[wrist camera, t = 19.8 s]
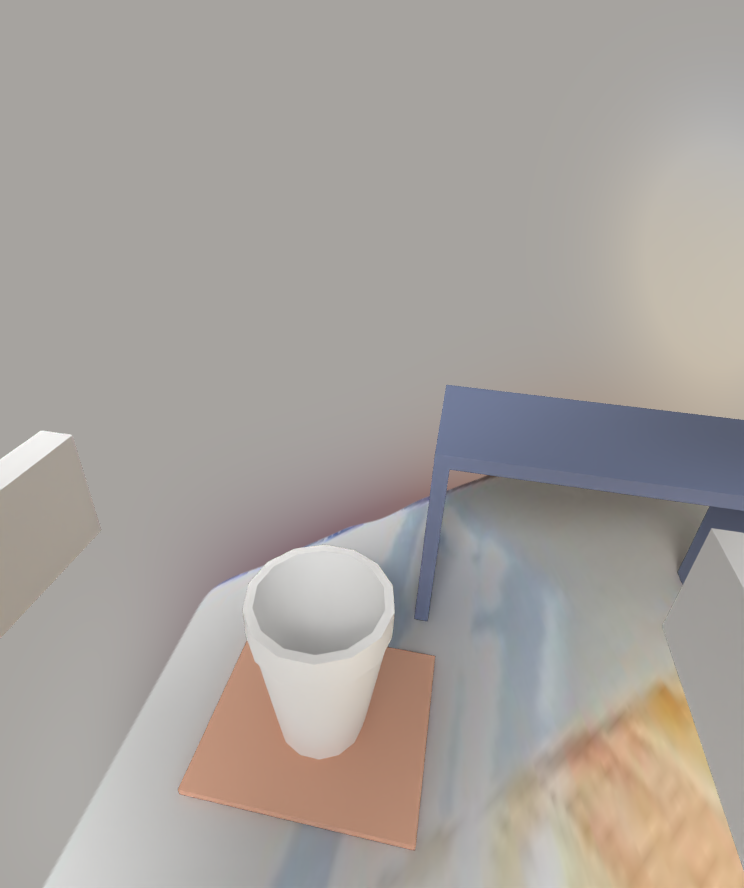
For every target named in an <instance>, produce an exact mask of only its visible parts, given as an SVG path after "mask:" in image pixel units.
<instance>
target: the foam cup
mask: <svg viewBox="0 0 744 888" xmlns="http://www.w3.org/2000/svg"><path fill="white" fill-rule="evenodd" d="M242 613H243V620H244V628H245V635H246V638H247V641H248V644H249V646H250V649H251V652H252V655H253V658H254V661H255V662H256V663H257V664H258V665H259V666H260V669H261V672H262V675H263V678H264V681H265V684H266V687H267V690H268V693H269V696H270V699H271V702H272V705H273V707H274V710H275V713H276V716H277V719H278V722H279V725H280V728H281V731H282V733H283V736H284V739H285V741H286V743H287V744H288V745H289V746H291V747H292V748H293V749H294V750H295V751H296V752H297V753H298V754H299V755H302V756H306V757H311V758H315V759H324V758H328V757H333V756H337V755H340V754H341V753H342V752H343V751H345V750H346V749H347V748H348V747H350V746H351V745H352V744H353V743H355V741H356V739H357V737H358V735H359V732H360V730H361V728H362V726H363V723H364V721H365V717H366V714H367V711H368V707H369V704H370V700H371V697H372V694H373V690H374V687H375V683H376V680H377V677H378V673H379V670H380V666H381V663H382V660H383V656H384V653H385V650H386V648H387V646H388V644H389V643H390V641H391V639H392V635H393V625H394V614H395V609H394V594H393V585H392V584H391V582H390V581H389V579H388V578H387V576H386V575H385V573H384V572H383V571H382V569H381V568H380V566H379V565H378V564H377V563H375V562H374V561H372V560H370V559H368V558H367V557H365V556H363V555H362V554H360V553H358V552H357V551H355V550H351V549H346V548H340V547H335V546H329V545H318V546H311V547H304V548H296V549H293V550H291V551H289V552H287V553H285V554H283V555H281V556H279V557H277V558H275V559H273V560H271V561H269V562H267V563H266V564H265V565H264V567H263V568H262V569H261V570H260V571H259V572H258V573H257V574H256V575H255V577H254V578H253V579H252V580H251V581H250V582H249V583H248V587H247V592H246V596H245V600H244V604H243V608H242Z"/></svg>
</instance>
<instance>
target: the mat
mask: <svg viewBox="0 0 744 888" xmlns="http://www.w3.org/2000/svg"><path fill="white" fill-rule="evenodd" d="M434 663H435V656H432V655H427V654H422V653H416V652H411V651H406V650H400V649H395V648H390V647H387V648H386V650H385V653H384V656H383V660H382V663H381V666H380V670H379V673H378V677H377V680H376V683H375V687H374V690H373V694H372V697H371V700H370V704H369V707H368V711H367V714H366V717H365V721H364V723H363V726H362V728H361V730H360V732H359V735H358V737H357V739H356V741H355V743H353V744H352V745H351V746H350V747H348V748H347V749H346V750H345V751H343V752H342V753H341V754H340V755H337V756H333V757H328V758H324V759H315V758H311V757H306V756H302V755H299V754H298V753H297V752H296V751H295V750H294V749H293V748H292V747H291V746H289V745H288V744H287V743H286V741H285V739H284V736H283V733H282V731H281V728H280V725H279V722H278V719H277V716H276V713H275V710H274V707H273V705H272V702H271V699H270V696H269V693H268V690H267V687H266V684H265V681H264V678H263V675H262V672H261V669H260V666H259V665H258V664H257V663H256V662H255V661H254V658H253V655H252V652H251V649H250V646H249V644H248V641H246V644H245V646H244V648H243V650H242V652H241V654H240V657H239V659H238V661H237V663H236V665H235V667H234V669H233V672H232V674H231V676H230V678H229V680H228V682H227V685H226V687H225V689H224V691H223V693H222V695H221V698H220V700H219V702H218V704H217V706H216V708H215V710H214V713H213V715H212V717H211V719H210V721H209V723H208V726H207V728H206V730H205V732H204V734H203V736H202V739H201V741H200V743H199V745H198V747H197V749H196V751H195V754H194V756H193V758H192V760H191V762H190V764H189V767H188V769H187V771H186V773H185V775H184V777H183V780H182V782H181V784H180V786H179V788H178V792H179V794H182V795H186V796H190V797H194V798H198V799H202V800H207V801H211V802H215V803H219V804H223V805H227V806H232V807H236V808H240V809H244V810H248V811H252V812H256V813H261V814H265V815H269V816H273V817H277V818H281V819H286V820H290V821H294V822H298V823H302V824H306V825H311V826H315V827H319V828H323V829H327V830H331V831H335V832H340V833H344V834H348V835H352V836H356V837H360V838H365V839H369V840H373V841H377V842H381V843H385V844H390V845H394V846H398V847H402V848H406V849H410V850H414V851H415V847H416V838H417V828H418V818H419V809H420V799H421V789H422V779H423V770H424V760H425V750H426V740H427V731H428V721H429V711H430V702H431V692H432V682H433V672H434Z"/></svg>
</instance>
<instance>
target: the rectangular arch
mask: <svg viewBox="0 0 744 888" xmlns="http://www.w3.org/2000/svg"><path fill="white" fill-rule="evenodd" d="M449 470H456V471H464V472H471V473H478V474H485V475H492V476H499V477H506V478H513V479H521V480H528V481H535V482H542V483H549V484H556V485H563V486H570V487H578V488H585V489H592V490H599V491H606V492H613V493H620V494H627V495H635V496H642V497H649V498H656V499H663V500H670V501H677V502H684V503H692V504H699V505H706V506H710V507H709V509H708V511H707V513H706V515H705V517H704V519H703V521H702V523H701V525H700V527H699V529H698V531H697V534H696V536H695V538H694V540H693V542H692V544H691V546H690V548H689V550H688V552H687V554H686V556H685V558H684V560H683V562H682V564H681V566H680V568H679V570H678V575H679V577H680V580H681V582H682V584H684V582H685V580H686V578H687V576H688V574H689V572H690V570H691V568H692V566H693V564H694V562H695V560H696V558H697V556H698V554H699V552H700V550H701V548H702V546H703V544H704V542H705V540H706V538H707V536H708V534H709V532H710V530H711V528H714V529H721V530H728V531H734V532H741V533H744V420H739V419H730V418H722V417H713V416H705V415H697V414H688V413H680V412H671V411H663V410H655V409H646V408H637V407H629V406H621V405H612V404H603V403H596V402H587V401H579V400H570V399H562V398H553V397H545V396H537V395H528V394H520V393H511V392H502V391H494V390H486V389H477V388H469V387H461V386H452V385H446V391H445V397H444V403H443V409H442V415H441V421H440V427H439V433H438V439H437V445H436V451H435V459H434V467H433V475H432V483H431V491H430V499H429V507H428V515H427V523H426V531H425V539H424V547H423V555H422V563H421V571H420V579H419V587H418V595H417V603H416V611H415V619H419V620H425V621H428V614H429V607H430V600H431V593H432V586H433V579H434V572H435V566H436V559H437V552H438V545H439V538H440V531H441V524H442V517H443V510H444V504H445V497H446V490H447V483H448V476H449Z"/></svg>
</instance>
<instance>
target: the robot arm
mask: <svg viewBox="0 0 744 888" xmlns="http://www.w3.org/2000/svg"><path fill="white" fill-rule="evenodd" d="M100 531H101V527H100V524H99V521H98V517H97V514H96V511H95V507H94V504H93V501H92V498H91V495H90V491H89V488H88V485H87V481H86V478H85V475H84V472H83V468H82V465H81V462H80V458H79V455H78V452H77V449H76V446H75V442H74V439H73V436H72V435H68V434H61V433H54V432H48V431H40V432H39V433H37V434H36V435H34V436H33V437H31V438H30V439H29V440H27V441H26V442H24V443H23V444H21V445H20V446H19V447H17V448H16V449H14V450H13V451H11V452H10V453H9V454H7V455H6V456H4V457H3V458H1V459H0V638H1V637H2V636H3V635H4V634H5V633H6V632H7V631H8V630H9V628H10V627H11V626H12V625H13V624H14V623H15V622H16V621H17V620H18V619H19V618H20V617H21V616H22V614H24V612H25V611H26V610H27V609H28V608H29V607H30V606H31V605H32V604H33V603H34V602H35V601H36V600H37V599H38V597H39V596H40V595H41V594H42V593H43V592H44V591H45V590H46V589H47V588H48V587H49V586H50V585H51V584H52V583H53V582H54V580H55V579H56V578H57V577H58V576H59V575H60V574H61V573H62V572H63V571H64V570H65V568H67V567H68V565H69V564H70V563H71V562H72V561H73V560H74V559H75V558H76V557H77V556H78V555H79V554H80V553H81V552H82V551H83V549H84V548H85V547H86V546H87V545H88V544H89V543H90V542H91V541H92V540H93V539H94V538H95V537H96V536H97V535H98V533H99V532H100ZM662 628H663V631H664V634H665V637H666V640H667V643H668V646H669V649H670V652H671V655H672V658H673V661H674V664H675V667H676V670H677V673H678V676H679V679H680V681H681V684H682V687H683V690H684V693H685V696H686V699H687V702H688V705H689V708H690V711H691V714H692V717H693V720H694V723H695V726H696V729H697V732H698V735H699V738H700V741H701V744H702V747H703V750H704V753H705V756H706V759H707V762H708V765H709V768H710V771H711V774H712V777H713V780H714V783H715V786H716V789H717V792H718V795H719V798H720V801H721V804H722V807H723V810H724V813H725V816H726V819H727V822H728V825H729V828H730V831H731V834H732V837H733V840H734V843H735V846H736V849H737V852H738V855H739V858H740V861H741V864H742V867H743V870H744V533H741V532H734V531H728V530H721V529H714V528H711V530H710V532H709V534H708V536H707V538H706V540H705V542H704V544H703V546H702V548H701V550H700V552H699V554H698V556H697V558H696V560H695V562H694V564H693V566H692V568H691V570H690V572H689V574H688V576H687V578H686V580H685V582H684V584H683V586H682V588H681V590H680V592H679V594H678V596H677V598H676V600H675V601H674V603H673V605H672V607H671V609H670V611H669V613H668V615H667V617H666V619H665V621H664V623H663V625H662Z"/></svg>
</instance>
